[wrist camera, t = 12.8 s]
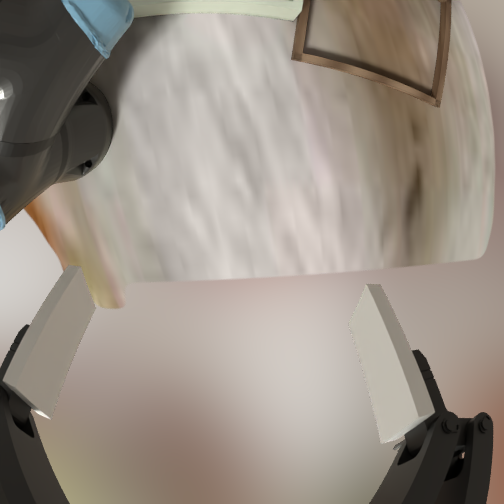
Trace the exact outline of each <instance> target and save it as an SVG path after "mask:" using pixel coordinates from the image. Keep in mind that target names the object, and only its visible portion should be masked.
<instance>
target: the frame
mask: <svg viewBox="0 0 504 504" xmlns="http://www.w3.org/2000/svg"><path fill="white" fill-rule="evenodd" d="M438 1H439V2H441V15H440V32H439V43H438V52H437V60H436V67H435V74H434V80H433V86H432V91H431V96H429V95H427V94H424V93H422V92H420V91H418V90H416V89H414V88H411V87H409V86H407V85H404V84H402V83H400V82H397V81H395V80H392V79H390V78H387V77H384V76H382V75H379V74H376V73H373V72H370V71H367V70H364V69H361V68H358V67H355V66H352V65H348V64H345V63H341V62H338V61H334V60H330V59H326V58H322V57H318V56H314V55H309V54H305V53H303V47H304V41H305V34H306V28H307V21H308V14H309V7H310V0H303V5H302V11H301V12H300V13H299V15H298V18H297V25H296V31H295V38H294V45H293V51H292V58H291V60H295V61H300V62H305V63H310V64H314V65H319V66H323V67H327V68H331V69H335V70H339V71H342V72H346V73H349V74H353V75H356V76H359V77H362V78H365V79H369V80H372V81H374V82H377V83H380V84H383V85H386V86H388V87H391V88H394V89H396V90H399V91H401V92H404V93H406V94H408V95H411V96H413V97H415V98H418V99H420V100H422V101H424V102H426V103H429V104H431V105H433V106H436V107H439V108H440V103H441V98H442V93H443V88H444V82H445V75H446V69H447V61H448V52H449V42H450V29H451V0H438Z"/></svg>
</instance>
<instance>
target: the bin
mask: <svg viewBox="0 0 504 504" xmlns="http://www.w3.org/2000/svg"><path fill="white" fill-rule="evenodd" d="M128 1H129V2H130V3H131V5H132V6H133V9H134V18H139V17H147V16H156V15H167V14H186V13H220V14H238V15H250V16H259V17H267V18H274V19H281V20H287V21H292V22H293V21H294V19H295V18H296V17H297V16H298V15H299V13H300V12H301V11H302V5H303V0H128Z"/></svg>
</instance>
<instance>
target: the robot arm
mask: <svg viewBox="0 0 504 504" xmlns="http://www.w3.org/2000/svg"><path fill="white" fill-rule="evenodd" d="M133 18H134V9H133V6H132V5H131V3H130V2H129V1H128V0H0V230H2V229H3V228H4V227H5V225H6V224H7V223H8V222H9V221H10V220H11V219H12V218H13V217H14V216H16V214H18V213H19V212H20V211H21V210H22V209H23V208H24V207H26V206H27V205H28V204H29V203H30V202H31V201H33V200H34V199H35V198H36V197H37V196H39V195H40V194H41V193H42V192H44V191H45V190H46V189H47V188H49V187H50V186H51V185H53V184H56V183H62V182H68V181H73V180H77V179H79V178H81V177H83V176H85V175H86V174H88V173H89V172H90V171H92V170H93V169H94V168H96V167H97V166H98V165H99V163H100V162H101V161H102V160H103V158H104V156H105V155H106V153H107V150H108V148H109V145H110V142H111V137H112V115H111V111H110V107H109V105H108V102H107V100H106V98H105V97H104V95H103V94H102V93H101V91H100V90H99V89H98V88H97V87H95V86H94V85H92V84H91V83H89V81H90V79H91V78H92V77H93V75H94V74H95V72H96V71H97V70H98V68H99V67H100V65H101V64H102V63H103V61H104V60H105V59H108V58H109V56H110V54H111V50H112V49H113V47H114V46H115V44H116V43H117V42H118V40H119V39H120V38H121V37H122V35H123V34H124V33H125V32H126V30H127V29H128V28H129V27H130V25H131V23H132V21H133ZM95 309H96V307H95V304H94V302H93V299H92V297H91V294H90V291H89V289H88V286H87V283H86V280H85V277H84V274H83V272H82V269H81V266H72V265H68V267H67V268H66V269H65V271H64V272H63V274H62V275H61V277H60V278H59V280H58V281H57V282H56V284H55V286H54V287H53V289H52V290H51V292H50V293H49V295H48V296H47V298H46V299H45V301H44V303H43V304H42V306H41V308H40V309H39V311H38V312H37V314H36V316H35V317H34V319H33V321H32V323H31V324H30V325H25V326H24V327H23V328H22V329H21V330H20V331H19V332H18V334H17V336H16V338H15V340H14V343H13V344H12V345H11V347H10V351H8V353H7V355H6V357H5V359H4V361H3V363H2V366H1V368H0V504H70V503H69V502H68V500H67V498H66V496H65V494H64V492H63V490H62V489H61V486H60V485H59V482H58V480H57V478H56V476H55V474H54V472H53V470H52V467H51V465H50V463H49V460H48V458H47V455H46V453H45V450H44V448H43V445H42V442H41V439H40V437H39V434H38V431H37V428H36V424H35V421H34V418H33V416H32V414H31V412H30V411H31V408H32V409H33V410H34V411H35V412H37V413H38V414H40V415H42V416H44V417H46V418H49V419H52V416H53V413H54V410H55V407H56V404H57V401H58V397H59V395H60V392H61V389H62V387H63V384H64V381H65V378H66V376H67V373H68V371H69V368H70V365H71V363H72V360H73V358H74V356H75V353H76V351H77V348H78V346H79V344H80V342H81V339H82V337H83V335H84V333H85V330H86V328H87V326H88V324H89V322H90V320H91V317H92V315H93V313H94V311H95ZM348 325H349V328H350V331H351V334H352V338H353V340H354V344H355V347H356V350H357V353H358V357H359V360H360V364H361V367H362V371H363V374H364V378H365V381H366V385H367V388H368V392H369V395H370V399H371V403H372V407H373V411H374V415H375V419H376V423H377V428H378V432H379V436H380V441H381V444H382V443H386V442H390V441H394V440H397V439H398V438H400V437H401V436H403V435H404V436H405V440H403V441H402V442H400V443H398V444H397V445H395V447H394V448H393V449H394V450H396V449H397V448H399V447H400V449H399V450H398V453H397V455H396V457H395V460H394V461H393V463H392V465H391V467H390V469H389V471H388V473H387V475H386V477H385V478H384V480H383V482H382V484H381V485H380V487H379V489H378V490H377V492H376V494H375V495H374V497H373V499H372V500H371V502H370V503H369V504H486V501H487V496H488V490H489V483H490V475H491V465H492V453H493V452H492V451H493V422H492V419H491V417H490V416H489V415H488V414H487V413H484V412H482V413H479V414H478V415H477V416H475V417H474V418H458V417H457V416H456V415H455V414H454V413H452V412H449V411H447V409H446V408H445V405H444V402H443V399H442V397H441V394H440V391H439V389H438V386H437V384H436V381H435V379H434V376H433V374H432V371H430V366H429V364H428V362H427V359H426V358H425V357H424V355H423V354H422V353H421V352H420V351H419V350H413V351H412V350H411V348H410V345H409V343H408V341H407V339H406V336H405V334H404V332H403V330H402V328H401V325H400V323H399V321H398V319H397V317H396V315H395V313H394V311H393V309H392V307H391V305H390V302H389V301H388V298H387V296H386V294H385V293H384V290H383V289H382V287H381V285H380V284H366V286H365V289H364V291H363V293H362V296H361V298H360V300H359V302H358V305H357V307H356V309H355V311H354V313H353V315H352V317H351V320H350V322H349V324H348ZM464 452H465V454H464V458H462V453H464Z"/></svg>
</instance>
